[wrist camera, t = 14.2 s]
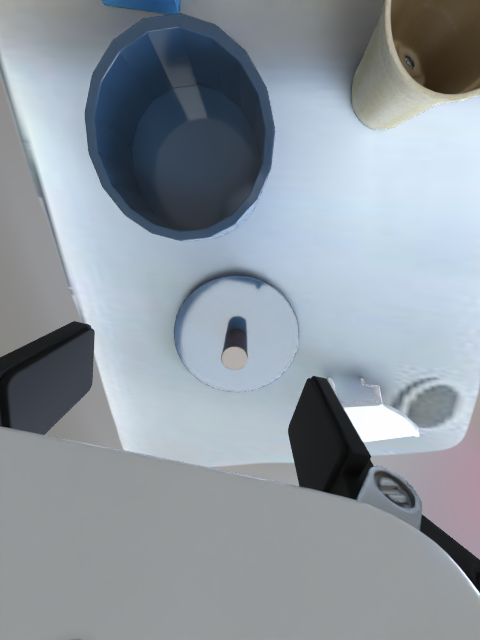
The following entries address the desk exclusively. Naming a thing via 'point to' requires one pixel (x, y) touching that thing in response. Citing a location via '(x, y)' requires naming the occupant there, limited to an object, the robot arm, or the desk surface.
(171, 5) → the perfume bottle
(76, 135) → the desk surface
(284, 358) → the lid
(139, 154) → the dish
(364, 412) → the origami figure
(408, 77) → the flower pot
